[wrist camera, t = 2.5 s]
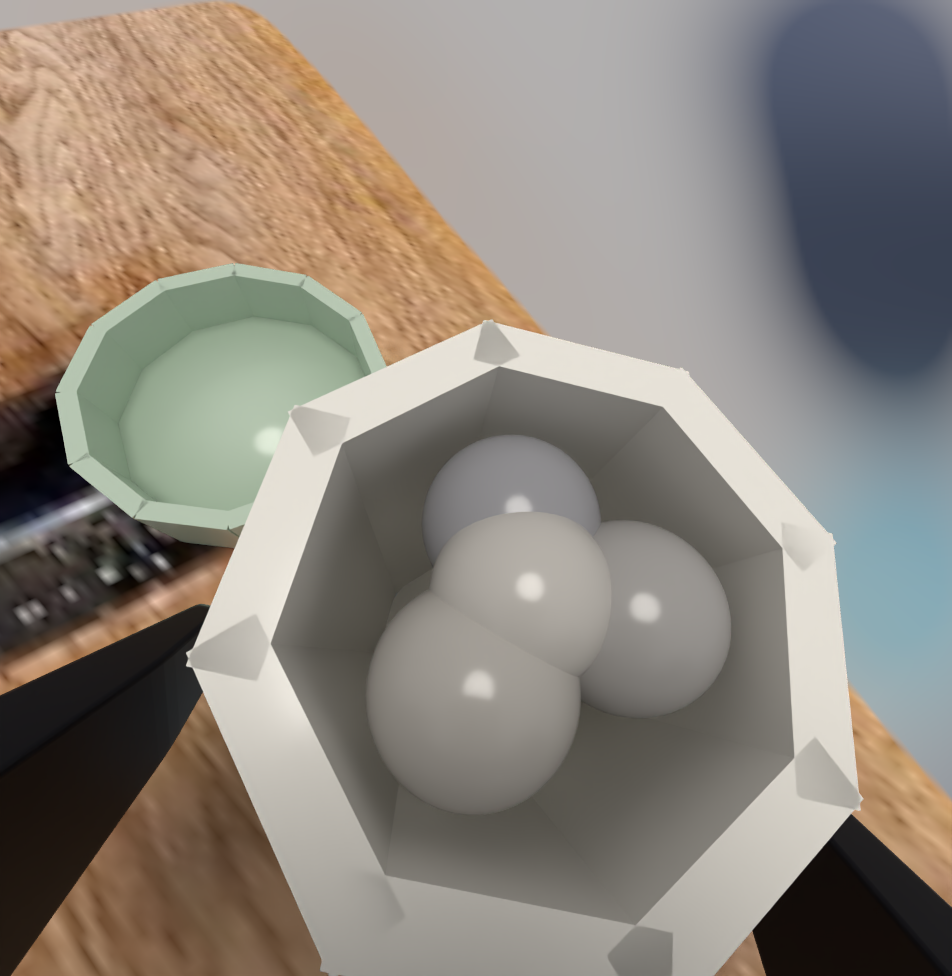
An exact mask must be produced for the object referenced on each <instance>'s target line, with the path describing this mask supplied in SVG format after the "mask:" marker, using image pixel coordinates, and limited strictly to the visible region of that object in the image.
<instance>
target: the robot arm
mask: <svg viewBox="0 0 952 976" xmlns="http://www.w3.org/2000/svg"><path fill="white" fill-rule="evenodd" d="M209 609H210V605H205V604H199V605H195V606H193V607H191V608H189V609H186V610H184V611H182V612H180V613H178V614H176V615H173V616H171V617H169V618H167V619H165V620H163V621H160V622H158V623H156V624H154V625H152V626H150V627H147V628H145V629H143V630H141V631H139V632H137V633H134V634H132V635H130V636H128V637H126V638H124V639H121V640H119V641H117V642H115V643H113V644H111V645H108V646H106V647H104V648H102V649H100V650H98V651H95V652H93V653H91V654H89V655H87V656H85V657H82V658H80V659H78V660H76V661H74V662H72V663H69V664H67V665H65V666H63V667H61V668H59V669H56V670H54V671H52V672H50V673H48V674H46V675H44V676H41V677H39V678H37V679H35V680H33V681H31V682H28V683H26V684H24V685H22V686H20V687H18V688H15V689H13V690H11V691H9V692H7V693H5V694H2V695H0V976H11V975H12V973H13V972H14V970H15V969H16V967H17V966H18V965H19V963H20V962H21V960H22V959H23V958H24V956H25V955H26V953H27V952H28V950H29V949H30V948H31V946H32V945H33V943H34V942H35V940H36V939H37V938H38V936H39V935H40V933H41V932H42V931H43V929H44V928H45V926H46V925H47V923H48V922H49V921H50V919H51V918H52V916H53V915H54V913H55V912H56V911H57V909H58V908H59V906H60V905H61V904H62V902H63V901H64V899H65V898H66V896H67V895H68V894H69V892H70V891H71V889H72V888H73V886H74V885H75V884H76V882H77V881H78V879H79V878H80V877H81V875H82V874H83V872H84V871H85V869H86V868H87V867H88V865H89V864H90V862H91V861H92V859H93V858H94V857H95V855H96V854H97V852H98V851H99V850H100V848H101V847H102V845H103V844H104V842H105V841H106V840H107V838H108V837H109V835H110V834H111V832H112V831H113V830H114V828H115V827H116V825H117V824H118V823H119V821H120V820H121V818H122V817H123V815H124V814H125V813H126V811H127V810H128V808H129V807H130V806H131V804H132V803H133V801H134V800H135V798H136V797H137V796H138V794H139V793H140V791H141V790H142V788H143V787H144V786H145V784H146V783H147V781H148V780H149V779H150V777H151V776H152V774H153V773H154V771H155V770H156V769H157V767H158V766H159V764H160V763H161V761H162V760H163V758H164V757H165V755H166V754H167V752H168V751H169V749H170V748H171V746H172V745H173V743H174V741H175V740H176V738H177V736H178V735H179V733H180V731H181V729H182V728H183V726H184V724H185V722H186V721H187V719H188V717H189V715H190V714H191V712H192V710H193V708H194V707H195V705H196V703H197V701H198V700H199V698H200V696H201V694H202V693H203V690H202V688H201V686H200V684H199V681H198V679H197V677H196V675H195V672H194V670H193V668H192V667H187V666H186V664H187V661H188V656H187V654H186V652H188V651H190V650H192V649H193V647H194V645H195V642H196V640H197V638H198V635H199V633H200V630H201V628H202V626H203V623H204V621H205V618H206V616H207V614H208V611H209ZM752 931H753V935H754V938H755V941H756V944H757V948H758V951H759V954H760V957H761V961H762V964H763V967H764V970H765V973H766V976H952V907H951V906H950V905H949V904H948V903H946V902H945V901H944V900H943V899H942V898H941V897H940V896H939V895H938V894H937V893H936V892H935V891H934V890H933V889H931V888H930V887H929V886H928V885H927V884H926V883H925V882H924V881H923V880H922V879H921V878H920V877H919V876H917V875H916V874H915V873H914V872H913V871H912V870H911V869H910V868H909V867H908V866H907V865H906V864H905V863H903V862H902V861H901V860H900V859H899V858H898V857H897V856H896V855H895V854H894V853H893V852H892V851H891V850H890V849H888V848H887V847H886V846H885V845H884V844H883V843H882V842H881V841H880V840H879V839H878V838H877V837H876V836H874V835H873V834H872V833H871V832H870V831H869V830H868V829H867V828H866V827H865V826H864V825H863V824H862V823H860V822H859V821H858V820H857V819H856V818H855V817H854V816H853V815H852V814H850V815H849V817H848V818H847V819H846V820H845V821H844V823H843V824H842V825H841V826H840V827H839V828H838V830H837V831H836V832H835V833H834V834H833V836H832V837H831V838H830V839H829V840H828V841H827V843H826V844H825V845H824V846H823V847H822V849H821V850H820V851H819V852H818V853H817V854H816V856H815V857H814V858H813V859H812V860H811V862H810V863H809V864H808V865H807V866H806V867H805V869H804V870H803V871H802V872H801V873H800V875H799V876H798V877H797V878H796V879H795V880H794V882H793V883H792V884H791V885H790V886H789V888H788V889H787V890H786V891H785V892H784V893H783V895H782V896H781V897H780V898H779V899H778V901H777V902H776V903H775V904H774V905H773V906H772V908H771V909H770V910H769V911H768V912H767V914H766V915H765V916H764V917H763V918H762V919H761V921H760V922H759V923H758V924H757V925H756V927H755V928H754V929H753V930H752Z"/></svg>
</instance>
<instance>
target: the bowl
mask: <svg viewBox="0 0 952 976" xmlns="http://www.w3.org/2000/svg"><path fill="white" fill-rule="evenodd" d="M91 325H92V326H89V328H88V330H87V332H86V334H85V336H84V338H83V340H82V342H81V343H80V345H79V347H78V349H77V351H76V353H75V355H74V357H73V359H72V361H71V363H70V365H69V367H68V368H67V370H66V372H65V374H64V376H63V378H62V380H61V382H60V384H59V386H58V388H57V390H56V392H57V393H56V394H55V396H56V401H57V406H58V412H59V417H60V423H61V428H62V434H63V439H64V444H65V450H66V455H67V461H68V465H70V467H71V468H72V469H73V470H74V471H76V472H77V473H78V474H79V475H81V476H82V477H83V478H84V479H85V480H87V481H88V482H89V483H90V484H92V485H93V486H94V487H95V488H96V489H98V490H99V491H100V492H101V493H103V494H104V495H105V496H106V497H107V498H109V499H110V500H111V501H112V502H114V503H115V504H116V505H117V506H119V507H120V508H121V509H122V510H123V511H125V512H126V513H127V514H128V515H130V516H131V517H132V518H134V519H136V520H138V521H140V522H142V523H144V524H146V525H149V526H151V527H153V528H155V529H157V530H159V531H161V532H163V533H165V534H167V535H169V536H171V537H173V538H175V539H178V540H180V541H182V542H186V543H195V544H203V545H212V546H220V547H228V548H235V546H236V544H237V542H238V539H239V537H240V535H241V532H242V530H243V527H244V525H245V523H246V520H247V518H248V515H249V513H250V511H251V508H252V506H253V503H254V501H255V499H256V496H257V494H258V491H259V489H260V487H261V484H262V482H263V479H264V477H265V475H266V472H267V470H268V467H269V465H270V463H271V460H272V458H273V455H274V453H275V451H276V448H277V446H278V444H279V441H280V439H281V436H282V434H283V432H284V429H285V427H286V424H287V422H288V420H289V417H290V415H289V413H288V411H290V410H292V409H293V408H294V405H298V406H301V405H303V404H306V403H308V402H310V401H312V400H314V399H317V398H319V397H321V396H323V395H325V394H328V393H330V392H332V391H334V390H337V389H339V388H341V387H343V386H345V385H348V384H350V383H352V382H354V381H356V380H359V379H361V378H363V377H365V376H368V375H370V374H372V373H374V372H376V371H379V370H381V369H383V368H385V367H386V364H385V362H384V360H383V358H382V355H381V353H380V351H379V349H378V346H377V344H376V342H375V340H374V337H373V335H372V333H371V331H370V328H369V326H368V324H367V322H366V319H365V317H364V315H363V314H362V312H360V311H359V310H357V309H356V308H354V307H353V306H351V305H350V304H349V303H347V302H346V301H344V300H343V299H341V298H340V297H338V296H337V295H335V294H334V293H333V292H331V291H330V290H328V289H327V288H325V287H324V286H322V285H321V284H319V283H318V282H317V281H315V280H314V279H312V278H311V277H309V276H306V275H303V274H297V273H291V272H285V271H279V270H273V269H267V268H261V267H255V266H249V265H243V264H238V263H235V265H234V264H233V263H232V264H227V265H222V266H218V267H213V268H208V269H204V270H199V271H194V272H189V273H185V274H180V275H175V276H171V277H166V278H161V279H158V282H157V281H156V280H155V281H154V282H152V283H151V284H149V285H148V286H146V287H145V288H143V289H142V290H140V291H139V292H137V293H136V294H135V295H133V296H132V297H130V298H129V299H127V300H126V301H124V302H123V303H121V304H120V305H119V306H117V307H116V308H114V309H113V310H111V311H110V312H108V313H107V314H105V315H104V316H102V317H101V318H100V319H98V320H97V321H95V322H94V323H92V324H91Z"/></svg>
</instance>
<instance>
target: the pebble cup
mask: <svg viewBox="0 0 952 976" xmlns="http://www.w3.org/2000/svg"><path fill="white" fill-rule="evenodd" d="M288 413H289V415H290V417H289V420H288V422H287V424H286V427H285V429H284V432H283V434H282V436H281V439H280V441H279V444H278V446H277V448H276V451H275V453H274V455H273V458H272V460H271V463H270V465H269V467H268V470H267V472H266V475H265V477H264V479H263V482H262V484H261V487H260V489H259V491H258V494H257V496H256V499H255V501H254V503H253V506H252V508H251V511H250V513H249V515H248V518H247V520H246V523H245V525H244V527H243V530H242V532H241V535H240V537H239V539H238V542H237V544H236V546H235V549H234V551H233V554H232V556H231V558H230V561H229V563H228V566H227V568H226V570H225V573H224V575H223V578H222V580H221V582H220V585H219V587H218V590H217V592H216V594H215V597H214V599H213V602H212V604H211V606H210V609H209V611H208V614H207V616H206V618H205V621H204V623H203V626H202V628H201V630H200V633H199V635H198V638H197V640H196V642H195V645H194V647H193V649H192V650H190V651H188V652H186V654H187V656H188V661H187V664H186V666H187V667H192V668H193V670H194V672H195V675H196V677H197V679H198V681H199V684H200V686H201V688H202V690H203V693H204V695H205V697H206V699H207V702H208V704H209V706H210V708H211V711H212V713H213V715H214V717H215V720H216V722H217V724H218V727H219V729H220V731H221V733H222V736H223V738H224V740H225V742H226V745H227V747H228V749H229V751H230V754H231V756H232V758H233V760H234V763H235V765H236V767H237V769H238V772H239V774H240V776H241V778H242V781H243V783H244V785H245V788H246V790H247V792H248V794H249V797H250V799H251V801H252V803H253V806H254V808H255V810H256V812H257V815H258V817H259V819H260V821H261V824H262V826H263V828H264V830H265V833H266V835H267V837H268V839H269V842H270V844H271V846H272V849H273V851H274V853H275V855H276V858H277V860H278V862H279V864H280V867H281V869H282V871H283V873H284V876H285V878H286V880H287V882H288V885H289V887H290V889H291V891H292V894H293V896H294V898H295V900H296V903H297V905H298V907H299V910H300V912H301V914H302V916H303V919H304V921H305V923H306V925H307V928H308V930H309V932H310V934H311V937H312V939H313V941H314V943H315V946H316V948H317V950H318V952H319V955H320V957H321V959H322V963H321V967H320V971H321V972H326V973H328V975H329V976H338V975H342V976H714V975H715V974H716V973H717V971H718V970H719V969H720V968H721V967H722V966H723V964H724V963H725V962H726V961H727V960H728V958H729V957H730V956H731V955H732V954H733V953H734V951H735V950H736V949H737V948H738V947H739V945H740V944H741V943H742V942H743V941H744V940H745V938H746V937H747V936H748V935H749V934H750V932H751V931H752V930H753V929H754V928H755V927H756V925H757V924H758V923H759V922H760V921H761V919H762V918H763V917H764V916H765V915H766V914H767V912H768V911H769V910H770V909H771V908H772V906H773V905H774V904H775V903H776V902H777V901H778V899H779V898H780V897H781V896H782V895H783V893H784V892H785V891H786V890H787V889H788V888H789V886H790V885H791V884H792V883H793V882H794V880H795V879H796V878H797V877H798V876H799V875H800V873H801V872H802V871H803V870H804V869H805V867H806V866H807V865H808V864H809V863H810V862H811V860H812V859H813V858H814V857H815V856H816V854H817V853H818V852H819V851H820V850H821V849H822V847H823V846H824V845H825V844H826V843H827V841H828V840H829V839H830V838H831V837H832V836H833V834H834V833H835V832H836V831H837V830H838V828H839V827H840V826H841V825H842V824H843V823H844V821H845V820H846V819H847V818H848V817H849V815H850V814H851V813H852V812H853V811H854V810H859V811H861V810H860V802H861V801H862V800H863V798H862V796H861V795H860V794H859V790H858V781H857V771H856V761H855V751H854V741H853V731H852V722H851V712H850V702H849V692H848V682H847V673H846V663H845V653H844V643H843V633H842V623H841V613H840V604H839V594H838V584H837V574H836V564H835V555H834V545H835V544H836V542H835V541H834V539H833V535H832V534H831V533H827V531H826V530H825V529H824V528H823V527H822V526H821V525H820V524H819V522H818V521H817V520H816V519H815V518H814V517H813V516H812V515H811V514H810V513H809V511H808V510H807V509H806V508H805V507H804V505H803V504H802V503H801V502H800V501H799V500H798V499H797V497H796V496H795V495H794V494H793V493H792V492H791V491H790V490H789V488H788V487H787V486H786V485H785V484H784V483H783V482H782V480H781V479H780V478H779V477H778V476H777V475H776V474H775V473H774V471H773V470H772V469H771V468H770V467H769V466H768V465H767V463H766V462H765V461H764V460H763V459H762V458H761V457H760V456H759V454H758V453H757V452H756V451H755V450H754V449H753V448H752V446H751V445H750V444H749V443H748V442H747V441H746V440H745V439H744V437H743V436H742V435H741V434H740V433H739V432H738V431H737V429H736V428H735V427H734V426H733V425H732V424H731V423H730V422H729V420H728V419H727V418H726V417H725V416H724V415H723V414H722V412H721V411H720V410H719V409H718V408H717V407H716V406H715V405H714V404H713V402H712V401H711V400H710V399H709V398H708V397H707V395H706V394H705V393H704V392H703V391H702V390H701V389H700V388H699V386H698V385H697V384H696V383H695V382H694V381H693V380H692V379H691V377H690V376H689V372H688V371H684V370H683V368H682V367H681V368H679V369H676V368H672V367H668V366H664V365H660V364H656V363H653V362H648V361H645V360H641V359H637V358H632V357H629V356H625V355H621V354H617V353H613V352H609V351H605V350H600V349H597V348H593V347H589V346H585V345H581V344H577V343H573V342H569V341H565V340H561V339H557V338H553V337H549V336H545V335H541V334H538V333H534V332H530V331H526V330H522V329H518V328H514V327H510V326H506V325H502V324H498V323H494V321H493V320H489V321H486V320H483V324H480V325H478V326H476V327H474V328H472V329H469V330H467V331H465V332H463V333H461V334H458V335H456V336H454V337H452V338H449V339H447V340H445V341H443V342H441V343H438V344H436V345H434V346H432V347H430V348H427V349H425V350H423V351H421V352H418V353H416V354H414V355H412V356H410V357H407V358H405V359H403V360H401V361H399V362H396V363H394V364H392V365H390V366H387V367H385V368H383V369H381V370H379V371H376V372H374V373H372V374H370V375H368V376H365V377H363V378H361V379H359V380H356V381H354V382H352V383H350V384H348V385H345V386H343V387H341V388H339V389H337V390H334V391H332V392H330V393H328V394H325V395H323V396H321V397H319V398H317V399H314V400H312V401H310V402H308V403H306V404H303V405H301V406H298V405H294V408H293V409H292V410H290V411H288ZM396 594H397V595H396Z"/></svg>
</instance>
